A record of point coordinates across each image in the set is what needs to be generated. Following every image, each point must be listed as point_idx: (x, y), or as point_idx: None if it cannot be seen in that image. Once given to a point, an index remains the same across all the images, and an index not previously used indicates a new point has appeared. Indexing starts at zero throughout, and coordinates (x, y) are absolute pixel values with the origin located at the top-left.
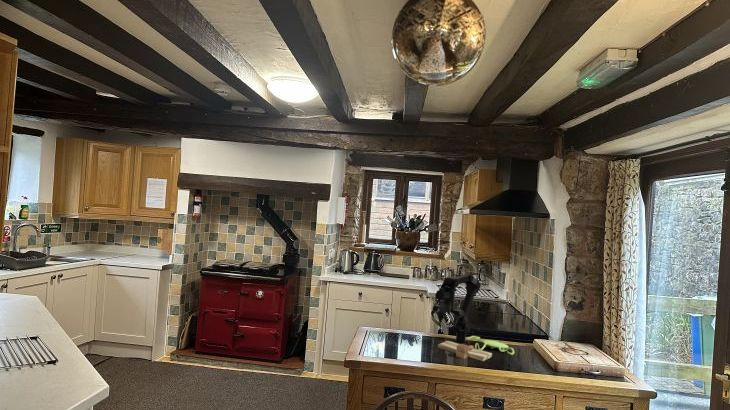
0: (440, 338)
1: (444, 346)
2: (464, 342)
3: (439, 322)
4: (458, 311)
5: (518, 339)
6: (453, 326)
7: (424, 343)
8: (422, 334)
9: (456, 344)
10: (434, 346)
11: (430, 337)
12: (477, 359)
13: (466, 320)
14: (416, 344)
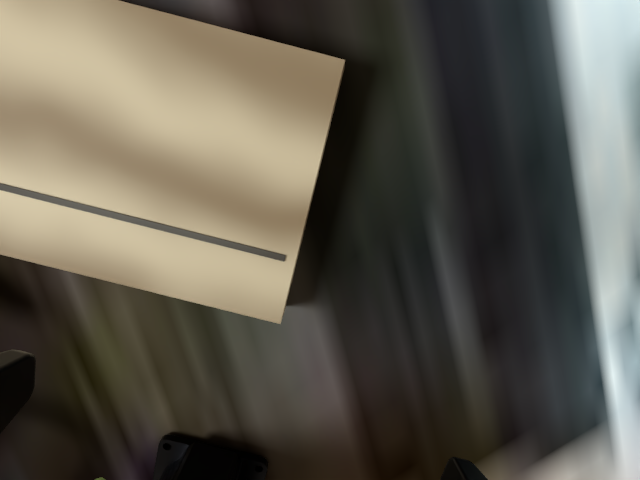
0: (406, 456)
1: (241, 33)
2: (157, 461)
3: (476, 471)
4: None
5: None
6: (20, 354)
7: (537, 143)
8: (614, 475)
9: (144, 242)
10: (394, 103)
11: (512, 426)
12: None
13: None
14: (636, 11)
